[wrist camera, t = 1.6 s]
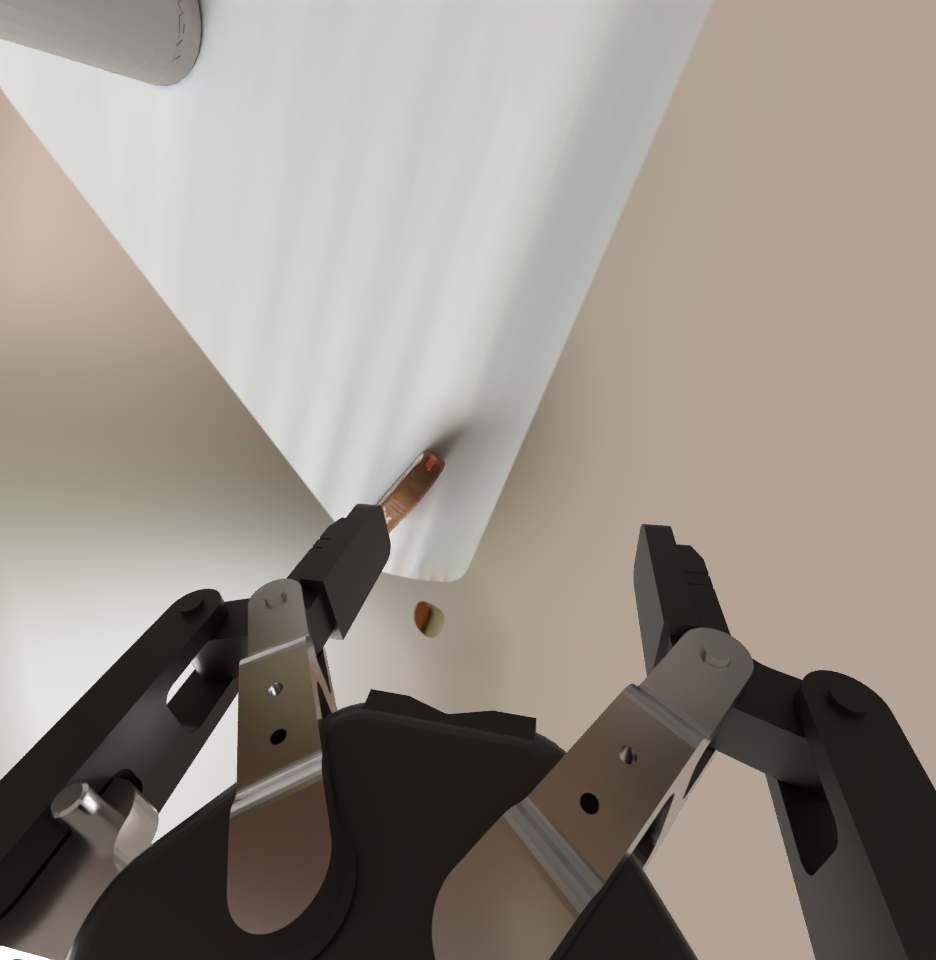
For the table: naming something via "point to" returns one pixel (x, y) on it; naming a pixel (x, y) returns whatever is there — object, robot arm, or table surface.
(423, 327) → the table surface
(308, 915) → the robot arm
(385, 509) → the tin
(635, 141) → the table surface
